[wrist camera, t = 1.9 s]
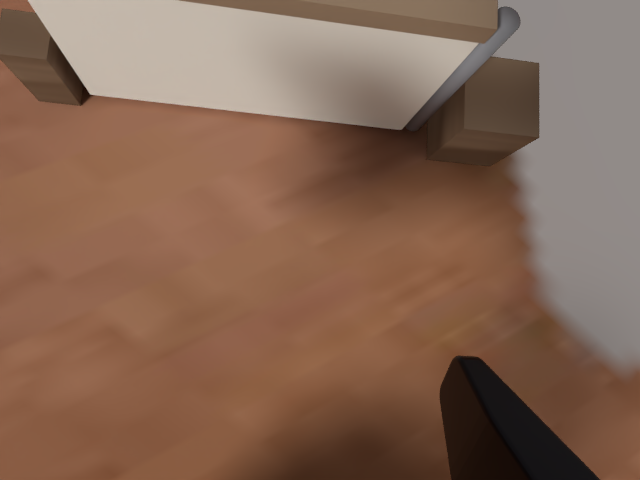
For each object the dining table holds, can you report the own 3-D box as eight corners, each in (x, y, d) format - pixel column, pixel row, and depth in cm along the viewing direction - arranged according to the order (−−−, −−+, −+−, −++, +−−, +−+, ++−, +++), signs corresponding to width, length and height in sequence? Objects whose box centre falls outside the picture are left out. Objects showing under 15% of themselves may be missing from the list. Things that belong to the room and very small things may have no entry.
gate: (420, 136, 23) (527, 33, 15) (89, 99, 21) (-9, -45, 13) (421, 110, 24) (527, -6, 15) (93, 71, 22) (-2, -90, 13)
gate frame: (490, 166, 24) (539, 137, 20) (36, 117, 21) (-9, 73, 17) (490, 102, 25) (539, 63, 21) (46, 47, 22) (4, -11, 18)
